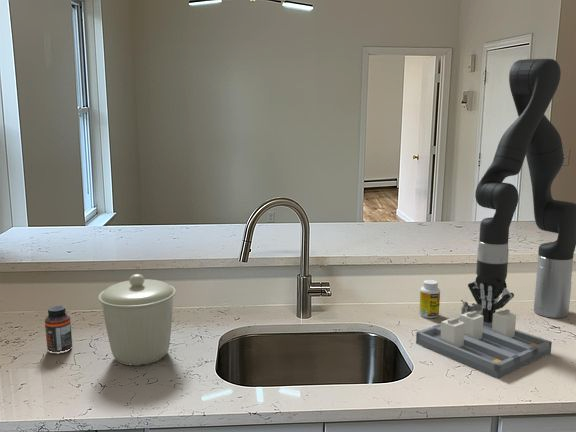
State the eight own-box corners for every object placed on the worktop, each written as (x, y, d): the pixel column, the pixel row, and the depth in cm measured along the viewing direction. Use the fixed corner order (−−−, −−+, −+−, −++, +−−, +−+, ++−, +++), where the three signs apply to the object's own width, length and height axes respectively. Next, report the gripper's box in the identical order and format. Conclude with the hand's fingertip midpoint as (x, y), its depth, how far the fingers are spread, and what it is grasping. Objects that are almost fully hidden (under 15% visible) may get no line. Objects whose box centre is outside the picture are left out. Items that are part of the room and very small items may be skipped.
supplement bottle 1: (43, 350, 146) (39, 308, 144) (65, 343, 151) (62, 301, 148) (54, 357, 142) (50, 313, 140) (77, 349, 147) (73, 307, 144)
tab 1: (450, 340, 147) (451, 315, 146) (463, 345, 144) (465, 319, 143) (440, 344, 145) (441, 318, 143) (453, 349, 142) (454, 323, 140)
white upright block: (500, 331, 152) (502, 307, 151) (514, 336, 149) (516, 311, 148) (491, 335, 150) (493, 310, 149) (505, 340, 147) (507, 315, 146)
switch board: (469, 323, 162) (470, 313, 162) (550, 353, 143) (551, 341, 143) (416, 343, 149) (416, 332, 149) (497, 378, 130) (498, 365, 130)
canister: (129, 381, 130) (123, 291, 126) (88, 358, 142) (82, 275, 138) (193, 355, 143) (190, 273, 139) (151, 335, 155) (147, 259, 151)
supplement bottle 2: (429, 320, 165) (431, 286, 163) (415, 314, 169) (416, 281, 167) (443, 316, 168) (444, 282, 166) (428, 310, 172) (430, 277, 170)
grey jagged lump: (458, 312, 172) (459, 299, 171) (484, 312, 172) (485, 298, 171) (469, 325, 161) (470, 311, 161) (496, 325, 161) (497, 311, 161)
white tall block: (469, 333, 151) (470, 308, 150) (482, 338, 148) (483, 313, 147) (459, 337, 149) (460, 311, 148) (472, 342, 146) (473, 316, 145)
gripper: (524, 261, 146) (519, 326, 150) (479, 251, 157) (476, 311, 160) (506, 266, 142) (501, 333, 145) (462, 255, 153) (458, 317, 156)
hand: (488, 321), depth 153 cm, fingers closed
